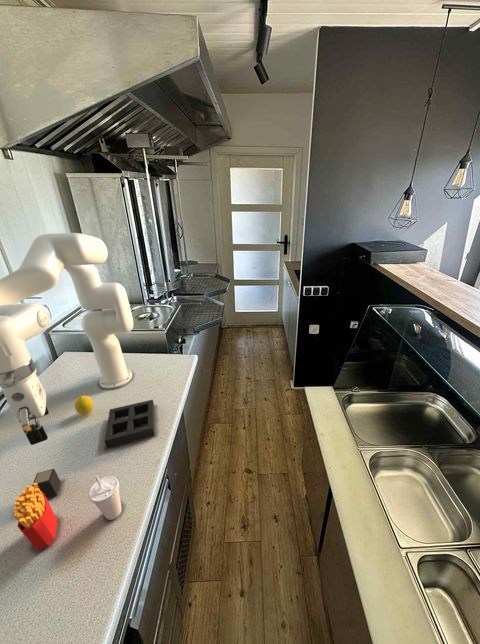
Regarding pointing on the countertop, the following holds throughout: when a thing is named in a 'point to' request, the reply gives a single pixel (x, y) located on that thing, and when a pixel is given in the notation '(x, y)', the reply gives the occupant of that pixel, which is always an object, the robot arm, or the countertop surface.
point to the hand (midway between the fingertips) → (40, 427)
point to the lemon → (84, 405)
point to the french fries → (35, 517)
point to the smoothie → (106, 496)
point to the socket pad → (130, 424)
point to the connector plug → (48, 482)
